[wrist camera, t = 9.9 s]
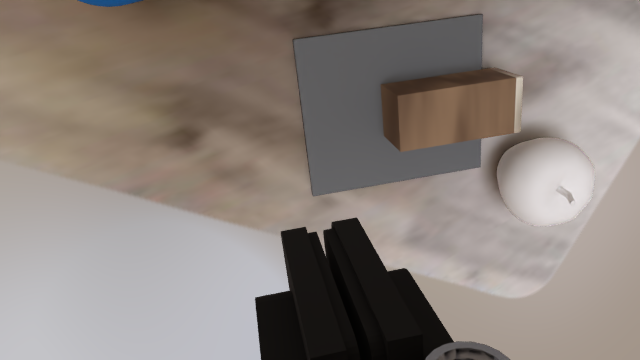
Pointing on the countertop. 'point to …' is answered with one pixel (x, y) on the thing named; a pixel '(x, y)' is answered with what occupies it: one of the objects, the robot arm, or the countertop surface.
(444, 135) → the block
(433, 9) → the countertop surface
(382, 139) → the mat
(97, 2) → the beverage can
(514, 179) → the plain white apple
